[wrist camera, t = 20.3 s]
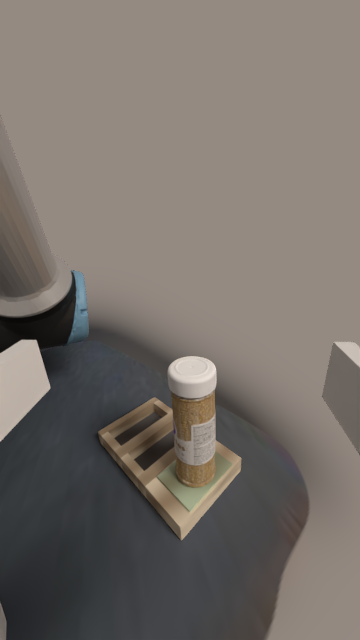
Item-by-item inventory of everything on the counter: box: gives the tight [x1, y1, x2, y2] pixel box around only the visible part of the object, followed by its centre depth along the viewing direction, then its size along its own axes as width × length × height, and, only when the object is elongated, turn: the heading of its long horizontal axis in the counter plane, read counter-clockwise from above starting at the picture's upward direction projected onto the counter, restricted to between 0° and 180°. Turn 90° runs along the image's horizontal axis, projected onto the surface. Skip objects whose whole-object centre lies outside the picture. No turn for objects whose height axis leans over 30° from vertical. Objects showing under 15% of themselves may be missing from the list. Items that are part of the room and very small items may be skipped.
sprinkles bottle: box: [168, 356, 216, 488], centre depth 25 cm, size 5×5×14 cm
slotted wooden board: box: [98, 397, 241, 541], centre depth 32 cm, size 16×10×2 cm, turn 44°
